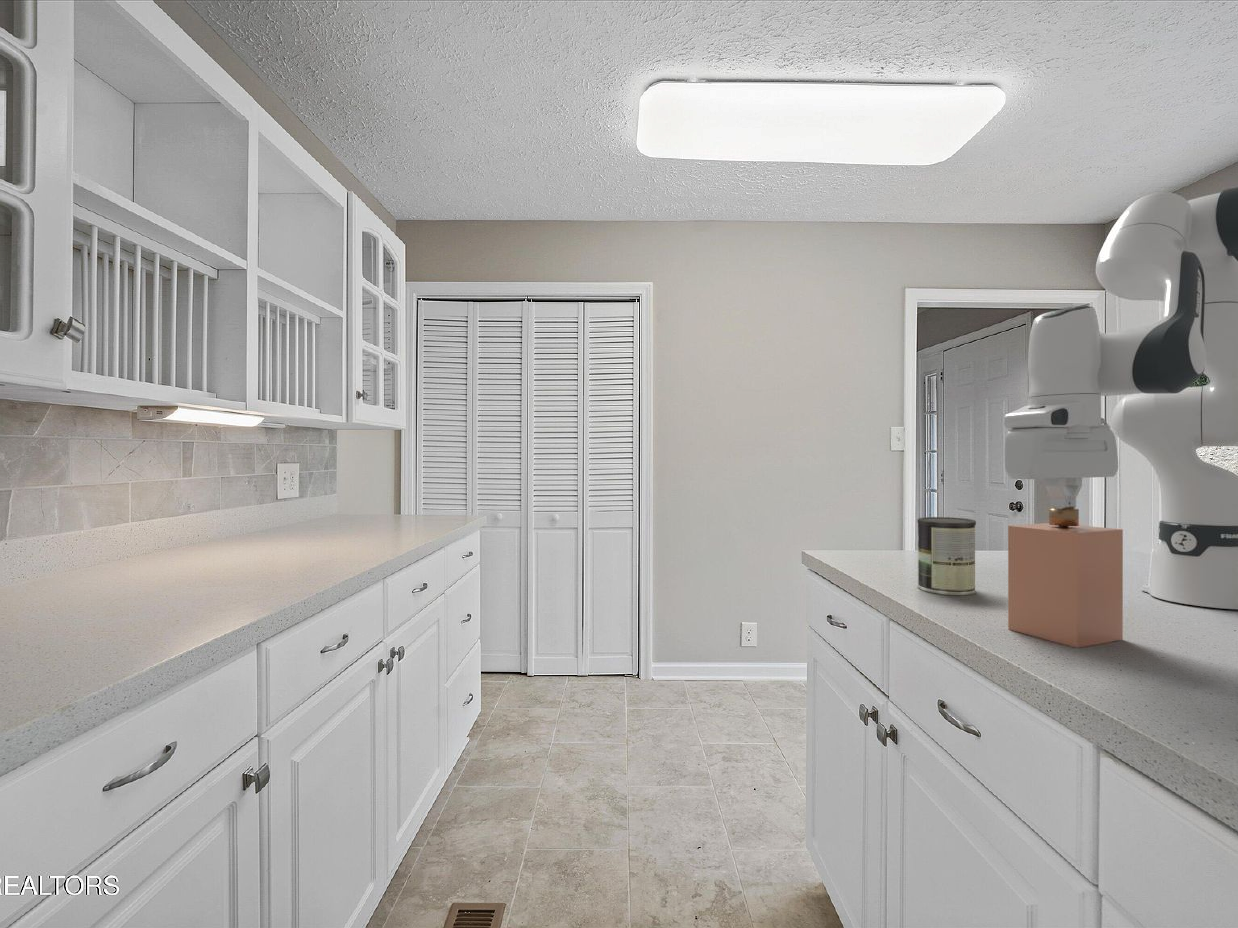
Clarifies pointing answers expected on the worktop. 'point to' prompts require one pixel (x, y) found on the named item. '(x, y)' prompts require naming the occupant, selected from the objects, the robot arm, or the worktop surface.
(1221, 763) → the worktop surface
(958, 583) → the coffee can
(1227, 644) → the worktop surface
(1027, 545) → the block
